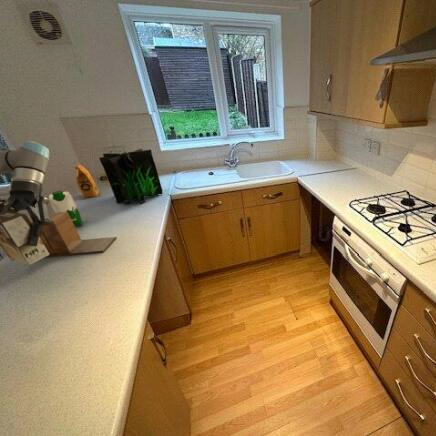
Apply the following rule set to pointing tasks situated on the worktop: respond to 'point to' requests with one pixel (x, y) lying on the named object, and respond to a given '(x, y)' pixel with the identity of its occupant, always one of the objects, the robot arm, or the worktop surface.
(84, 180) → the coffee package
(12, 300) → the worktop surface
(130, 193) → the decorative plant
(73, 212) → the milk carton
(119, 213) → the worktop surface
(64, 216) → the rack
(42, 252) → the coffee box
